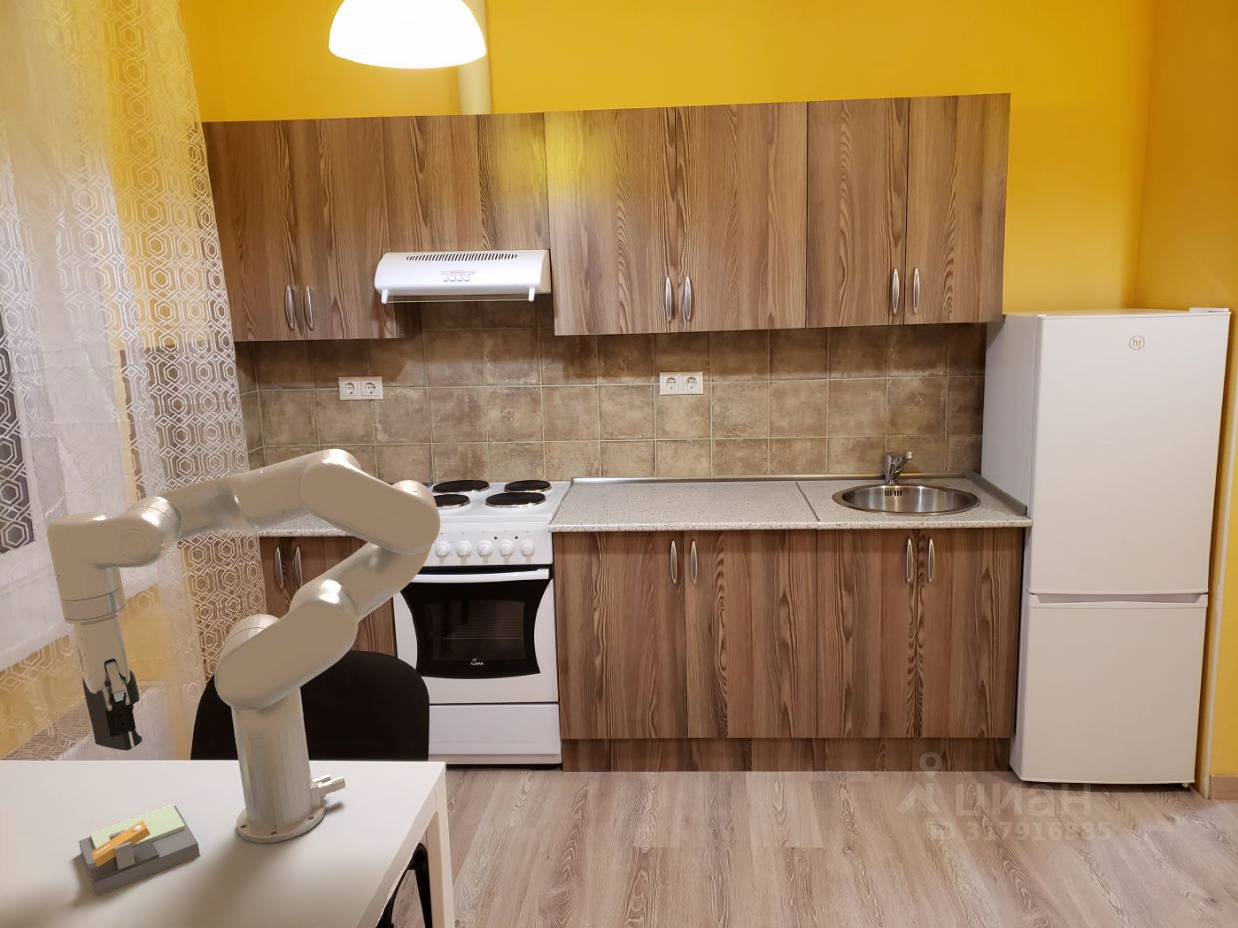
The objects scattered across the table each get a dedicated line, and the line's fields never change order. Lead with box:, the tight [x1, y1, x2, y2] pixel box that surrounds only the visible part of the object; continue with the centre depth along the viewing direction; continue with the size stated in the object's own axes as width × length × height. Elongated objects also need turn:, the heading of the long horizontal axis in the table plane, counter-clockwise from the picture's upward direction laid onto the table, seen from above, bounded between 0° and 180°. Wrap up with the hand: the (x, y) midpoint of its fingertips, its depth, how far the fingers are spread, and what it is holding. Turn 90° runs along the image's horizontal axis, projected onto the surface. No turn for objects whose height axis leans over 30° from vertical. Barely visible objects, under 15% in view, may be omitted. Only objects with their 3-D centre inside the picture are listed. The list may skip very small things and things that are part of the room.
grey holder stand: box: [78, 803, 201, 897], centre depth 132 cm, size 13×12×6 cm
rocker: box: [91, 820, 150, 867], centre depth 127 cm, size 7×2×1 cm, turn 127°
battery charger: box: [82, 666, 143, 752], centre depth 130 cm, size 7×4×11 cm, turn 67°
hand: (117, 721), depth 131 cm, fingers closed on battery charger, 7 cm apart
